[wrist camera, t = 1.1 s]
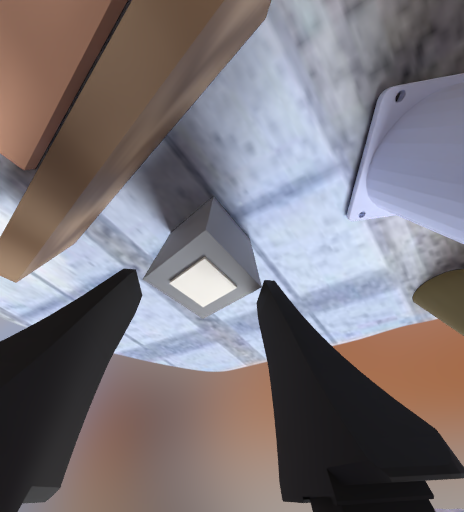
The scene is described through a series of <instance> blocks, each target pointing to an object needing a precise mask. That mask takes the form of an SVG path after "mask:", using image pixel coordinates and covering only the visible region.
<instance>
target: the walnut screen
mask: <svg viewBox="0 0 464 512" xmlns="http://www.w3.org/2000/svg"><path fill="white" fill-rule="evenodd" d="M270 3H271V0H132V1H131V3H130V5H129V7H128V9H127V10H126V12H125V14H124V16H123V17H122V19H121V21H120V23H119V25H118V26H117V28H116V30H115V32H114V34H113V35H112V37H111V39H110V41H109V43H108V44H107V46H106V48H105V50H104V52H103V53H102V55H101V57H100V59H99V61H98V62H97V64H96V66H95V68H94V70H93V71H92V73H91V75H90V77H89V79H88V80H87V82H86V84H85V86H84V88H83V89H82V91H81V93H80V95H79V97H78V98H77V100H76V102H75V104H74V106H73V107H72V109H71V111H70V113H69V115H68V116H67V118H66V120H65V122H64V124H63V125H62V127H61V129H60V131H59V133H58V134H57V136H56V138H55V140H54V142H53V143H52V145H51V147H50V149H49V151H48V152H47V154H46V156H45V158H44V160H43V161H42V163H41V165H40V167H39V169H38V170H37V172H36V174H35V176H34V178H33V179H32V181H31V183H30V185H29V187H28V188H27V190H26V192H25V194H24V196H23V197H22V199H21V201H20V203H19V205H18V206H17V208H16V210H15V212H14V214H13V215H12V217H11V219H10V221H9V223H8V224H7V226H6V228H5V230H4V232H3V233H2V235H1V237H0V276H2V277H4V278H7V279H9V280H11V281H13V282H15V283H16V282H18V281H19V280H21V279H22V278H24V277H25V276H27V275H28V274H30V273H31V272H33V271H34V270H36V269H37V268H39V267H40V266H42V265H43V264H45V263H46V262H48V261H49V260H51V259H52V258H54V257H55V256H57V255H58V254H60V253H61V252H63V251H64V250H66V249H67V248H69V247H70V246H72V245H73V244H75V242H76V241H77V240H78V239H79V238H80V237H81V235H82V234H83V233H84V232H85V231H86V230H87V228H88V227H89V226H90V225H91V224H92V222H93V221H94V220H95V219H96V218H97V217H98V215H99V214H100V213H101V212H102V211H103V209H104V208H105V207H106V206H107V205H108V204H109V202H110V201H111V200H112V199H113V198H114V197H115V195H116V194H117V193H118V192H119V191H120V189H121V188H122V187H123V186H124V185H125V184H126V182H127V181H128V180H129V179H130V178H131V176H132V175H133V174H134V173H135V172H136V171H137V169H138V168H139V167H140V166H141V165H142V164H143V162H144V161H145V160H146V159H147V158H148V156H149V155H150V154H151V153H152V152H153V151H154V149H155V148H156V147H157V146H158V145H159V143H160V142H161V141H162V140H163V139H164V138H165V136H166V135H167V134H168V133H169V132H170V131H171V129H172V128H173V127H174V126H175V125H176V123H177V122H178V121H179V120H180V119H181V118H182V116H183V115H184V114H185V113H186V112H187V110H188V109H189V108H190V107H191V106H192V105H193V103H194V102H195V101H196V100H197V99H198V98H199V96H200V95H201V94H202V93H203V92H204V90H205V89H206V88H207V87H208V86H209V85H210V83H211V82H212V81H213V80H214V79H215V77H216V76H217V75H218V74H219V73H220V72H221V70H222V69H223V68H224V67H225V66H226V65H227V63H228V62H229V61H230V60H231V59H232V57H233V56H234V55H235V54H236V53H237V52H238V50H239V49H240V48H241V47H242V46H243V45H244V43H245V42H246V41H247V40H248V39H249V37H250V36H251V35H252V34H253V33H254V32H255V30H256V29H257V28H258V27H259V26H260V24H261V23H262V22H263V21H264V20H265V18H266V15H267V12H268V9H269V6H270Z"/></svg>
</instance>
